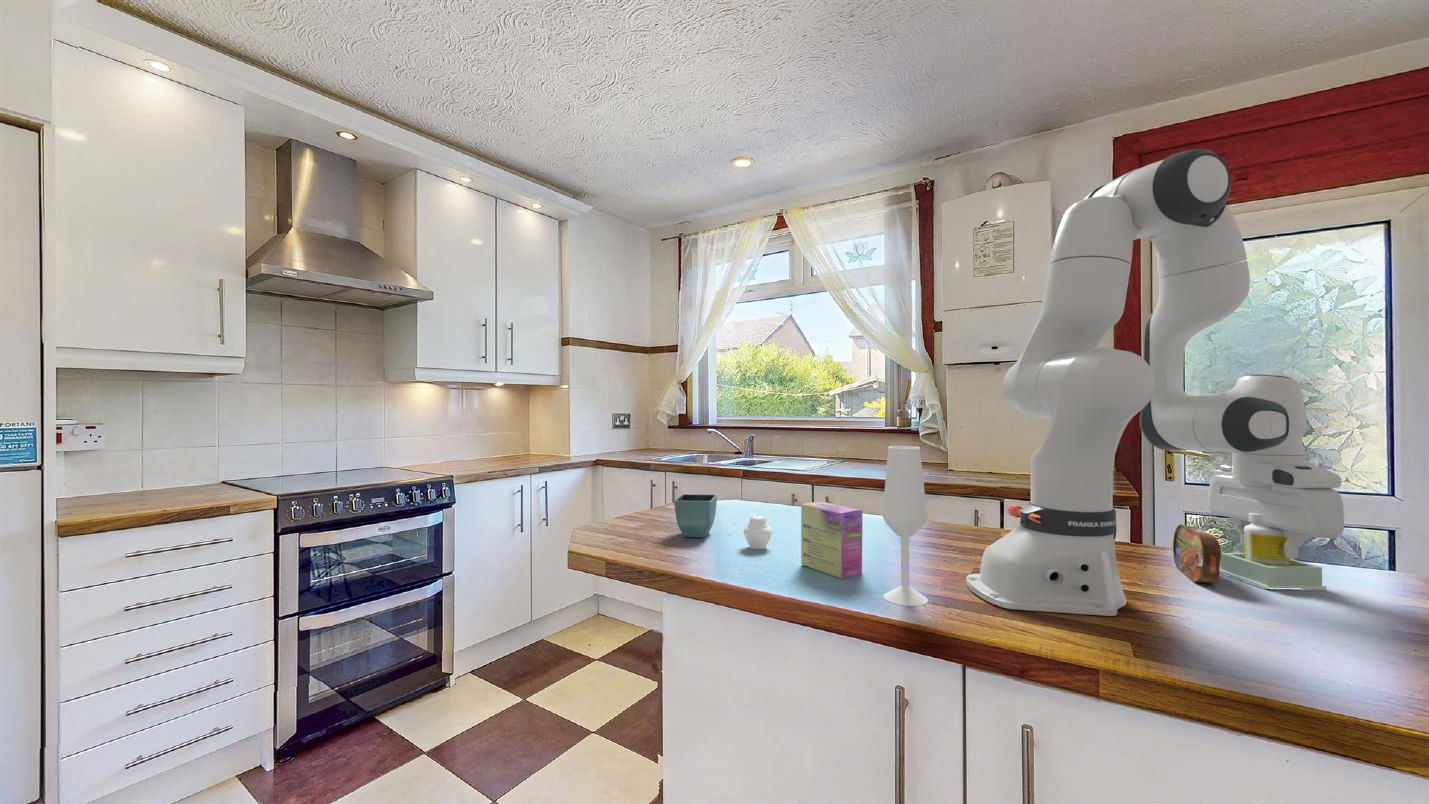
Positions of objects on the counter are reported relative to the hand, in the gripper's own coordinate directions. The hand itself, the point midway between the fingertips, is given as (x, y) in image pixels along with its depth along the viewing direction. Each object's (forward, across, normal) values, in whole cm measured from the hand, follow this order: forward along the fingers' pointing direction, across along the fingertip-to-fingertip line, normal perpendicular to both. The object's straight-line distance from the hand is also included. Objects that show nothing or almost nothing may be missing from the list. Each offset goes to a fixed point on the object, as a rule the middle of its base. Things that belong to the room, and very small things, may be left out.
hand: (1268, 551), depth 93 cm
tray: (+5, 0, 0) cm, 5 cm away
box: (+6, -6, -73) cm, 73 cm away
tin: (+5, -2, -10) cm, 11 cm away
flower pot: (+6, -32, -100) cm, 105 cm away
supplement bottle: (+4, 0, 0) cm, 4 cm away
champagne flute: (+6, +8, -64) cm, 65 cm away
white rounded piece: (+6, -22, -86) cm, 89 cm away
